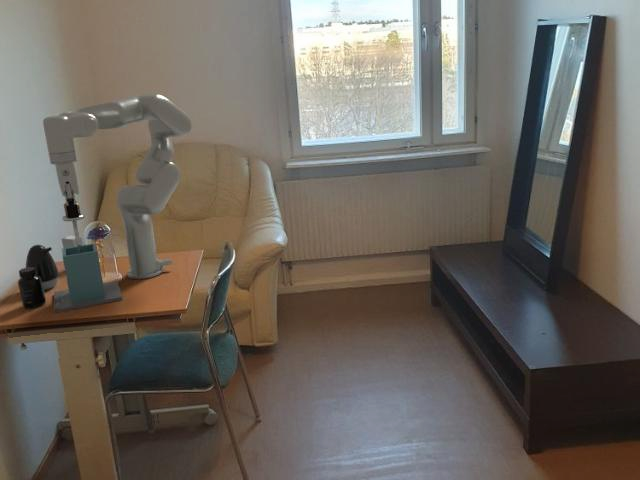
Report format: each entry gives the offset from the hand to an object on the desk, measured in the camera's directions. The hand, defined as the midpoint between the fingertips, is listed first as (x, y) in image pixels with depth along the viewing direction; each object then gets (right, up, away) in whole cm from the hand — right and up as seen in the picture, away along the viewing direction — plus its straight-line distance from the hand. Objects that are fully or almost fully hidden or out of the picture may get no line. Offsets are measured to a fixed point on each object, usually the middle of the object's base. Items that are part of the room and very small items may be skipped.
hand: (73, 215), depth 200 cm
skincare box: (-13, -18, +38) cm, 44 cm away
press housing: (+2, -26, +8) cm, 27 cm away
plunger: (+1, -17, +5) cm, 18 cm away
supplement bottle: (-14, -28, +4) cm, 32 cm away
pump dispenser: (-17, -24, +20) cm, 35 cm away
